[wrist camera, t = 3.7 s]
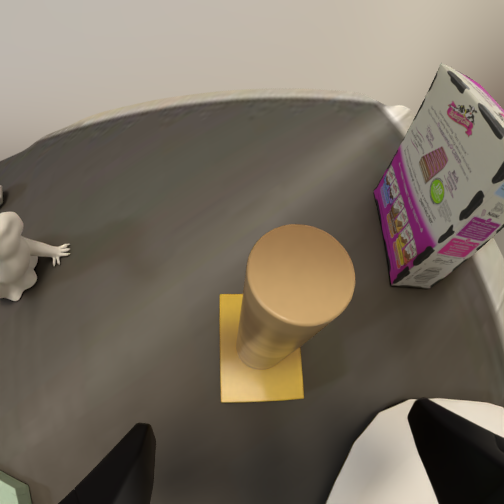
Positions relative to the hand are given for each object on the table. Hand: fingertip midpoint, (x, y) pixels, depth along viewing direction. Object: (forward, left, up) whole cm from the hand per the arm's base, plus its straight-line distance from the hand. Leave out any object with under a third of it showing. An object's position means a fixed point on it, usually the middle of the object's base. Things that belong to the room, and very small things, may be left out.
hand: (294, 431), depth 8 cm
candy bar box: (+14, -15, -12) cm, 24 cm away
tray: (-22, +27, -11) cm, 37 cm away
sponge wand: (+4, 0, -11) cm, 12 cm away
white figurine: (+9, +22, -12) cm, 27 cm away
